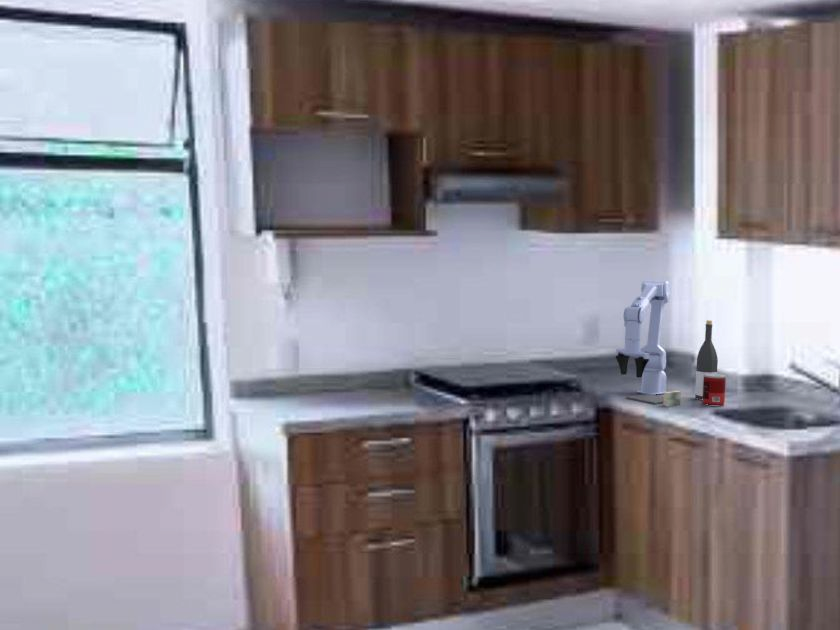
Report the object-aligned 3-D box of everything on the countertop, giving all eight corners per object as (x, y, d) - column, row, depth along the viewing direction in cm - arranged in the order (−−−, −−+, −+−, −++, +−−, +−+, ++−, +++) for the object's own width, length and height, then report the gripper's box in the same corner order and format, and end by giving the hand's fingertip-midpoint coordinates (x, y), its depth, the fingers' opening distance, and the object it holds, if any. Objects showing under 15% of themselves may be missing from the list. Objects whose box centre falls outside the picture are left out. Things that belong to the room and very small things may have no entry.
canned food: (728, 404, 376) (730, 375, 375) (716, 407, 370) (717, 377, 369) (710, 401, 381) (711, 372, 380) (698, 403, 376) (699, 374, 375)
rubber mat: (649, 395, 392) (649, 393, 392) (678, 401, 381) (678, 399, 381) (626, 398, 384) (626, 396, 384) (655, 404, 373) (655, 402, 373)
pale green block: (675, 404, 375) (676, 390, 375) (680, 404, 374) (680, 391, 373) (663, 405, 371) (663, 392, 371) (667, 406, 369) (668, 393, 369)
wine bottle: (691, 398, 386) (694, 320, 383) (698, 396, 393) (702, 318, 390) (711, 401, 382) (715, 322, 379) (719, 398, 388) (723, 320, 385)
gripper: (610, 337, 378) (609, 373, 379) (640, 342, 366) (638, 379, 368) (623, 336, 382) (622, 372, 384) (653, 341, 371) (652, 377, 372)
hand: (631, 375), depth 376 cm, fingers open, 7 cm apart
